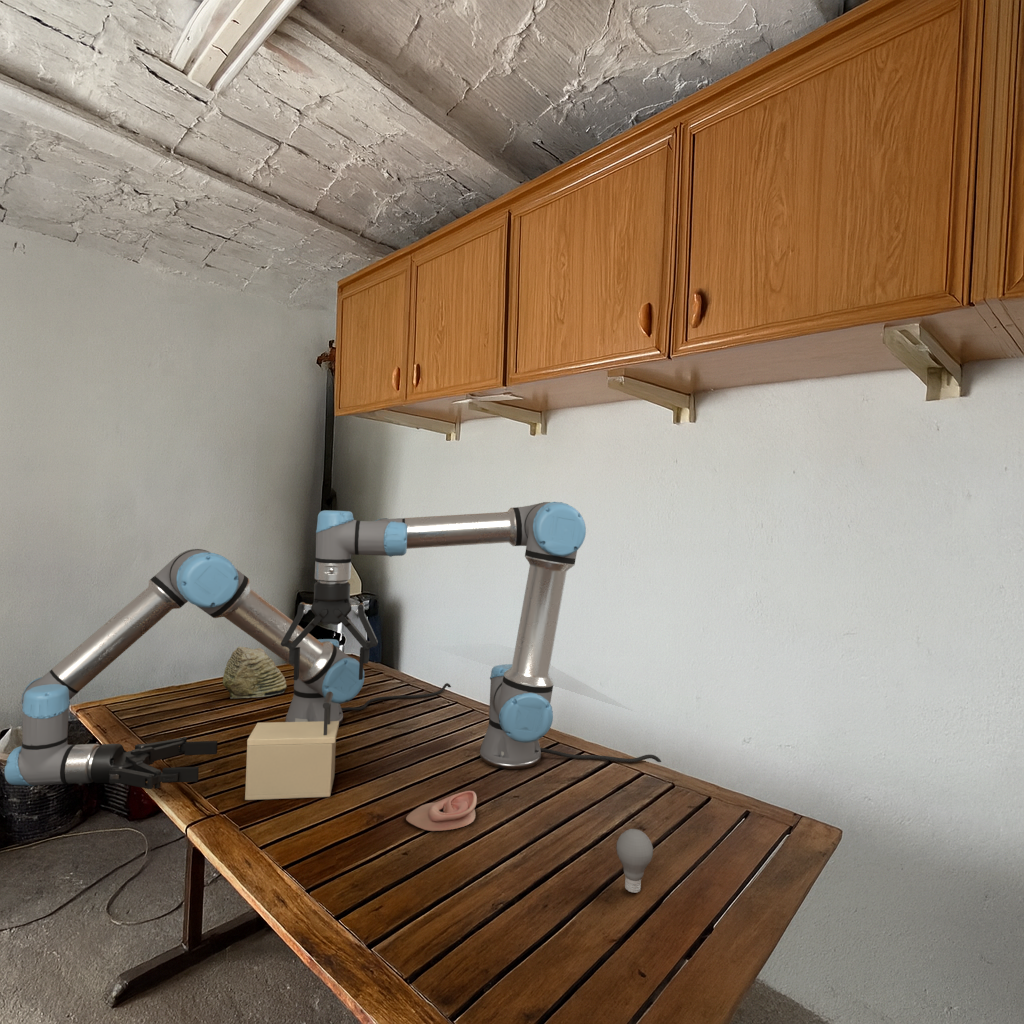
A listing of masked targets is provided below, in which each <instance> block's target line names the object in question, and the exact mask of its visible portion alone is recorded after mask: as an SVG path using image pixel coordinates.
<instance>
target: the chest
mask: <svg viewBox="0 0 1024 1024" xmlns="http://www.w3.org/2000/svg"><path fill="white" fill-rule="evenodd" d="M246 745H247V744H246ZM336 745H337V739H336V740H335V743H324V744H285V745H247V746H246V762H245V763H246V765H245V766H246V767H245V771H246V772H245V790H244V791H245V792H244V793H245V795H244V801H257V800H279V799H280V800H281V799H307V798H329V797H331V793H332V789H333V785H334V780H335V776H336V775H335V774H336V773H335V771H336V749H337V748H336Z"/></svg>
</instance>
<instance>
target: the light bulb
mask: <svg viewBox="0 0 1024 1024" xmlns="http://www.w3.org/2000/svg"><path fill="white" fill-rule="evenodd" d="M615 849H616V854H617V857H618V859H619V861H620V863H621V865H622V867H623V873H624V874H623V875H624V876H625V878H624V888H625V890H627V891H628V892H630V893H634V894H635V893H639V892H640V891H641V889H642V887H641V886H642V879H643V877H644V875H645V871H646V868H647V867H648V866H649V864H650V863H651V861H652V859H653V855H654V847H653V843H652V841H651V838H649V836H648V835H647V834H646V833H645V832H643V831H642V830H641V829H636V828H629V829H627V830H625V831H623V832H622V833H621V834H620V835H619V837H618V839H617V841H616V847H615Z"/></svg>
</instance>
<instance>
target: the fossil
mask: <svg viewBox="0 0 1024 1024" xmlns="http://www.w3.org/2000/svg"><path fill="white" fill-rule="evenodd" d="M222 676H223V677H222V685H223V687H224V688H225V690H226V691H228V693H229V698H230V699H250V698H264V697H271V696H275V695H281V694H284V693H285V691H286V689H287V687H288V686H287V680H286V678H285V676H284V674H283V673H282V672H281V669H279V668H278V667H277V665H276V663H275V662H274V660H273V659H272V658H271V657H270V656H269V655H268V654H267V653H266V652H265V650H264V649H263V648H260V647H258V648H251V647H247V646H246V647H245V646H238V647H237V648H236V649H235V650H233V651H232V653H231V656H230V657H229V659H228V660H227V663H226V666H225V668H224V671H223V675H222Z"/></svg>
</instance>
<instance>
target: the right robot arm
mask: <svg viewBox="0 0 1024 1024" xmlns="http://www.w3.org/2000/svg"><path fill="white" fill-rule="evenodd" d="M316 521H317V524H316V530H315V560H314V561H315V564H314V580H316V581H315V583H314V586H313V588H314V589H313V602H312V603H306V602H304V601H301V602H300V603H299V604H298V606H297V611H296V615H295V617H294V619H292V621H293V622H292V624H291V626H290V627H289V629H288V631H287V633H286V634H285V636H284V638H283V640H282V642H281V646H283V647H284V646H285V647H287V648H289V663H290V664H294V667H293V681H294V680H298V678H299V665H300V647H296V646H297V645H298V644H299V643H300V642H301V641H302V640H303V639H304V638H305V637H306V636H307V634H308V633H309V634H310V632H311V631H312V630H313V629H314V628H315V627H317V626H318V624H319V623H320V624H322V625H324V626H325V625H326V626H327V625H334V626H338V625H340V624H342V625H343V627H345V628H346V629H347V630H348V631H349V633H350V634H351V635H352V637H354V639H355V640H356V641H357V642H358V643H359V644H360V648H359V660H358V662H359V680H362V678H363V669H364V664H365V665H366V664H368V663H369V662H370V661H369V660H370V649H371V648H374V647H375V648H376V647H377V646H378V643H379V640H378V638H377V636H376V634H375V632H374V629H373V628H372V625H371V623H370V621H369V619H368V616H367V615H366V613H365V604H364V603H363V602H359V603H358V604H351V600H350V599H351V583H350V582H349V581H350V580H351V577H352V555H355V556H359V555H363V556H384V557H389V558H390V557H391V558H392V557H402V556H405V555H406V553H407V551H408V550H411V549H425V548H428V549H429V548H442V547H445V548H446V547H458V546H459V547H461V546H475V545H491V544H507V543H508V544H510V546H512V547H525V551H524V552H525V553H524V557H525V559H526V560H527V562H528V564H529V567H528V572H527V573H528V574H527V578H526V584H525V590H524V595H523V602H522V608H521V612H520V613H521V614H520V618H519V623H518V631H517V635H516V641H515V647H514V651H513V658H512V663H511V664H510V663H509V664H508V663H506V664H504V663H503V664H498V665H494V666H493V667H492V668H491V670H490V677H489V680H490V685H489V686H490V687H489V688H490V689H489V708H488V711H489V712H488V725H487V729H486V732H485V734H484V737H483V740H482V742H481V745H480V751H479V757H480V759H481V761H482V762H484V763H485V764H487V765H488V766H491V767H494V768H498V769H503V770H524V769H529V768H532V767H534V766H537V765H538V764H539V763H540V762H541V760H542V753H544V754H549V755H554V756H559V757H563V758H567V759H574V760H576V759H577V760H603V761H611V762H618V763H631V764H632V763H638V762H642V761H644V760H649V759H652V760H654V761H656V762H657V763H662V760H661V759H660V757H658V756H656V755H655V754H650V753H649V754H644V755H640V756H638V757H633V758H625V757H616V756H610V755H599V754H598V755H597V754H574V753H573V754H571V753H566V752H562V751H559V750H554V749H549V748H544V747H541V745H540V741H539V740H540V739H542V738H543V737H544V736H545V735H547V733H548V732H549V731H550V729H551V728H552V725H553V721H554V711H553V706H552V705H551V701H552V696H553V689H554V684H555V682H554V680H553V678H552V677H551V675H550V669H551V663H552V656H553V652H554V645H555V639H556V635H557V629H558V623H559V618H560V612H561V606H562V600H563V595H564V589H565V583H566V577H567V573H568V571H569V570H570V569H572V568H573V567H575V564H576V559H577V553H578V550H579V549H580V548H581V547H582V545H583V543H584V541H585V539H586V533H587V527H586V522H585V519H584V517H583V515H582V514H581V513H580V512H579V511H578V510H577V509H576V508H575V507H573V506H571V505H570V504H568V503H565V502H562V501H543V502H539V503H534V504H531V505H523V506H517V507H515V506H514V507H510V508H509V509H507V511H501V512H500V511H499V512H484V513H483V512H482V513H465V514H450V515H433V516H415V517H404V518H403V517H402V518H401V517H400V518H378V519H376V520H357V519H355V518H354V514H353V512H352V511H349V510H333V509H332V510H331V509H329V510H326V509H324V510H321V511H319V513H318V515H317V520H316ZM309 611H311V612H312V613H313V615H314V618H312V620H311V621H310V622H309V623H308V624H307V626H306V627H304V628H303V629H304V630H303V631H302V632H301V633H300V634H299V635H298V636H297V637H296V638H295V640H294V641H290V638H291V636H292V634H293V633H294V631H295V629H296V627H297V626H298V625H299V623H300V622H301V620H302V618H303V617H304V615H307V613H308V612H309ZM351 611H353V612H354V614H355V615H358V619H359V621H360V622H361V624H362V627H363V629H364V631H365V633H366V636H367V637H368V639H369V640H367V639H366V637H365V636H364V635H363V633H362V632H361V631H360V630H359V628H357V626H356V625H355V624H354V622H353V621H352V620H351V618H350V617H349V616H348V615H349V614H350V613H351ZM289 663H288V664H289ZM290 664H289V665H290Z"/></svg>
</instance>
